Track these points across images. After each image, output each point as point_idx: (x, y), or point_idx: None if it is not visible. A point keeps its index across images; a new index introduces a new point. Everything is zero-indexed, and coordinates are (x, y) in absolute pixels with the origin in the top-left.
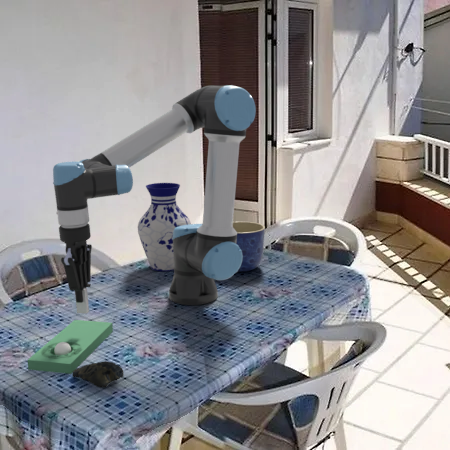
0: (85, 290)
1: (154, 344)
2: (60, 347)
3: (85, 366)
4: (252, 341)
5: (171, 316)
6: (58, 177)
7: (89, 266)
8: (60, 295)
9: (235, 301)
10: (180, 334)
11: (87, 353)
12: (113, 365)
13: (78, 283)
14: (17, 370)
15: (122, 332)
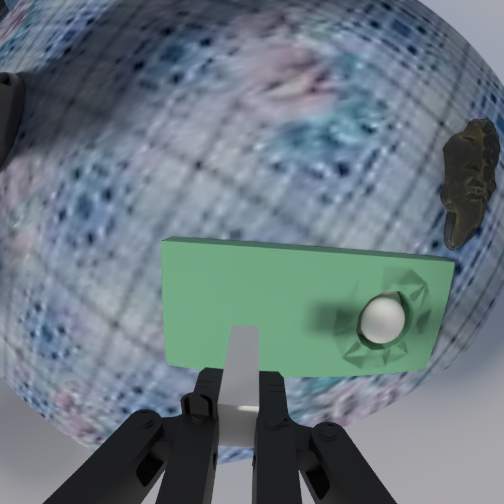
0: (243, 399)
1: (250, 80)
2: (403, 324)
3: (474, 215)
4: None
5: (67, 113)
6: None
7: (89, 488)
8: (49, 403)
9: (25, 42)
10: (176, 42)
11: (364, 252)
12: (497, 136)
13: (343, 461)
14: (414, 373)
15: (174, 202)
